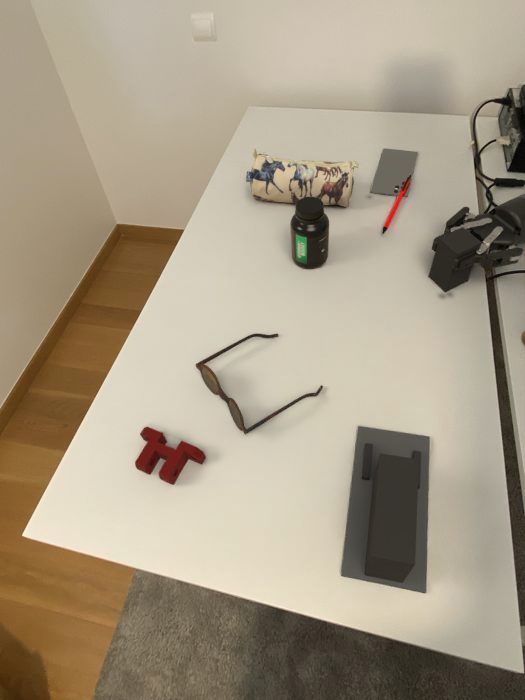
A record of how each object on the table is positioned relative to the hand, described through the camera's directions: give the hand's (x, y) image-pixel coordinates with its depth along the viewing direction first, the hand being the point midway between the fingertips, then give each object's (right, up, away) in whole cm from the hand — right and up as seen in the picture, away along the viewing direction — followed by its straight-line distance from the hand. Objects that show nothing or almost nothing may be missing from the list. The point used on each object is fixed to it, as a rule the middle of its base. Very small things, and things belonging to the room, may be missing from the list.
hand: (444, 255), depth 82 cm
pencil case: (-21, +16, +23) cm, 35 cm away
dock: (-13, -36, -16) cm, 41 cm away
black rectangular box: (+3, -3, +6) cm, 7 cm away
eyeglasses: (-30, -21, -3) cm, 37 cm away
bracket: (-44, -32, -10) cm, 55 cm away
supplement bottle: (-21, +2, +12) cm, 24 cm away
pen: (-3, +14, +19) cm, 23 cm away
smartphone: (-1, +23, +25) cm, 34 cm away
